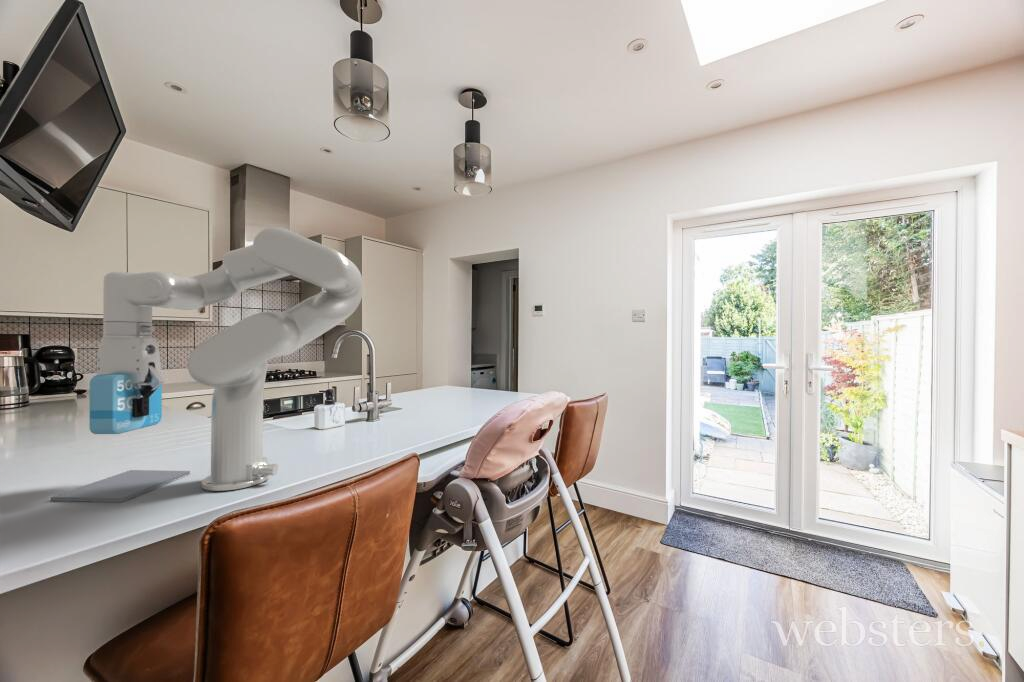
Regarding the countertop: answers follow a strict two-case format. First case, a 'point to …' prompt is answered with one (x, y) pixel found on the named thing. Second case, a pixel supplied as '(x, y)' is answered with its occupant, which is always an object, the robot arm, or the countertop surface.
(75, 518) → the countertop surface
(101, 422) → the data package
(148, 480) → the grey mat
